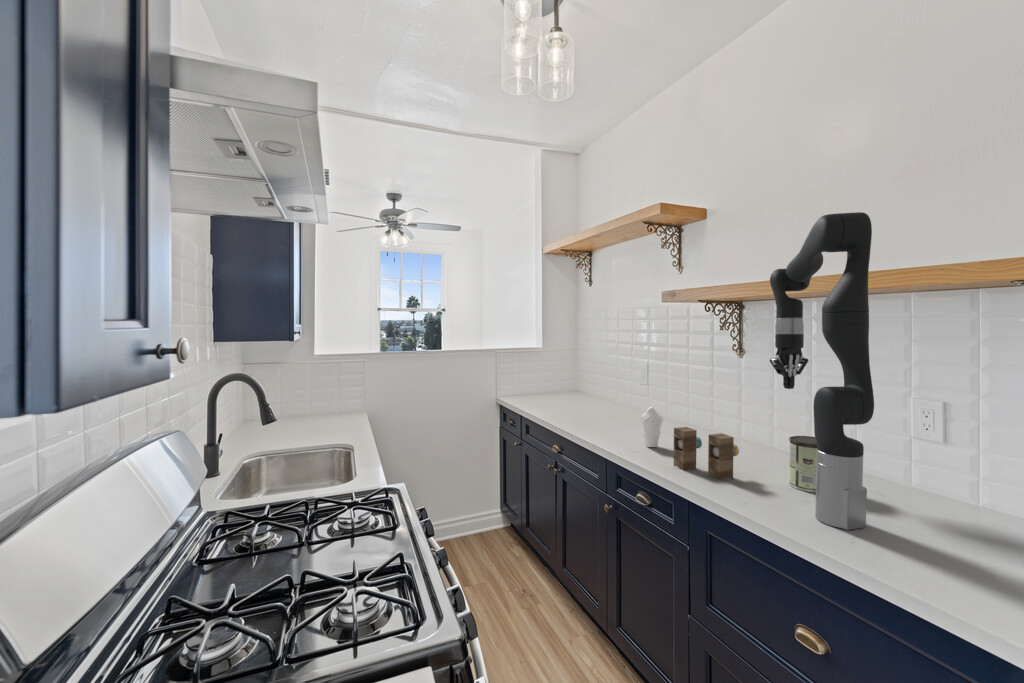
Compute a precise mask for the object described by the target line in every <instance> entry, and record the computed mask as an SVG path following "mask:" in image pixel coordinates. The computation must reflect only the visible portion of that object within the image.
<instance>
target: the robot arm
mask: <svg viewBox="0 0 1024 683" xmlns="http://www.w3.org/2000/svg"><path fill="white" fill-rule="evenodd" d="M872 228H873V227H872V221H871V218H870V216H869V215H868V214H867V213H866V212H859V211H858V212H843V213H830V214H829V213H828V214H825V215H822V216H821V217H819V218H818V219H817V220H816V221H815V223H814V224H813V226H812V227H811V229H810V231H809V233H808V234H807V237H806V238H805V240H804V242H803V245H802V246H801V249H800V250H799V251H798V253H797V254H796V255H795V256H794V257H793V258H792V259H791V261H790V262H789V263H788V264H787V266H786V268H777V269H774V271H773V272H772V273H771V274H770V278H769V285H770V289H771V290H772V293H773V297H774V300H775V306H776V310H775V312H776V315H775V316H776V318H775V319H776V320H775V334H774V339H775V340H774V341H775V342H774V346H775V348H776V349H777V350H776V352H775V356H774V357H773V358H769V363H770V364H771V365H772V367H773V369H774V370H775V371H776V373H777V374H778V375H781V376H782V377H783V380H782V382H783V388H784V389H786V390H793V389H794V388H795V385H796V384H795V381H796V380H795V378H796V376H797V375H801V373H802V372H803V371H804V369H805V368H806V366H807V364H808V362H809V358H806V357H804V355H803V351H802V349H803V348H804V344H805V343H804V337H805V335H804V334H805V329H804V328H805V325H804V313H803V312H804V311H803V310H804V302H803V301H802V300H801V299H799V298H793V297H790V296H789V295H787V293H786V292H801V291H804V290H806V289H808V288H809V286H810V283H811V279H812V277H813V276H814V275H815V274H816V273H818V271H819V270H820V269H821V268H822V266H823V264H824V255H823V253H845V252H846V263H845V264H846V265H845V268H844V271H843V273H842V275H841V277H840V278H839V280H838V282H837V283H836V284H835V285H834V287H832V288H833V289H831V291H830V292H829V294H828V295H827V296H826V298H825V300H824V302H823V304H822V307H821V330H822V331H821V332H822V335H823V337H824V339H825V341H826V343H827V345H828V346H829V348H830V349H831V350H832V352H833V353H834V354H835V356H836V358H837V359H838V361H839V363H840V365H841V367H842V368H841V369H842V372H843V373H842V374H843V386H823V387H820V388H819V389H818V390H817V391H816V392H815V395H814V399H813V428H814V437H815V438H816V442H817V465H816V493H815V511H814V512H815V513H814V514H815V518H816V519H817V520H818V521H819V522H821V523H824V524H826V525H827V526H831V527H834V528H839V529H842V530H844V531H851V530H852V531H853V530H857V529H861V528H866V527H867V501H868V500H867V499H868V489H867V487H866V486H863V485H864V484H863V482H864V480H863V478H864V475H863V474H864V452H865V451H864V448H865V447H864V445H863V444H864V443H863V442H861V441H860V440H857V439H855V438H852V437H848V436H847V435H846V434H845V431H844V425H846V426H847V425H851V426H854V425H855V426H856V425H857V426H858V425H866V424H868V423H869V422H870V421H871V420H872V418H873V416H874V411H875V398H874V389H873V382H872V381H873V380H872V375H871V363H870V347H869V346H870V343H869V342H870V340H869V334H870V333H869V332H870V306H869V272H870V271H869V268H870V267H869V266H870V259H871V249H872V248H871V246H872V236H873V229H872Z"/></svg>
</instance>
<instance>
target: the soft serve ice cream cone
mask: <svg viewBox="0 0 1024 683" xmlns="http://www.w3.org/2000/svg"><path fill="white" fill-rule="evenodd" d="M640 421H641V425H642V434H643V439H644V443H645V444H644V445H645V447H646V446H647V447H646V448H648V447H656V448H658V445H659V440H660V436H661V427H662V424H663V421H664V418H663V416H662V414H661V413H659V412H658V411H657V410H656V409H655V408H654V407H653V406H650V407H648V408H647V409H646V411H645V412H644V413H643V414H642V415H640Z"/></svg>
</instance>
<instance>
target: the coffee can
mask: <svg viewBox="0 0 1024 683" xmlns="http://www.w3.org/2000/svg"><path fill="white" fill-rule="evenodd" d="M788 440H789V468H788V469H789V472H788V473H789V474H788V475H789V476H788V477H789V478H788V486H790V487H792V488H794V489H795V490H796V489H797V490H800V491H802V490H803V491H804V492H807V493H814V494H816V465H817V442H816V438H815V436H808V435H793V436H789V437H788ZM803 491H802V492H803Z"/></svg>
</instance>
